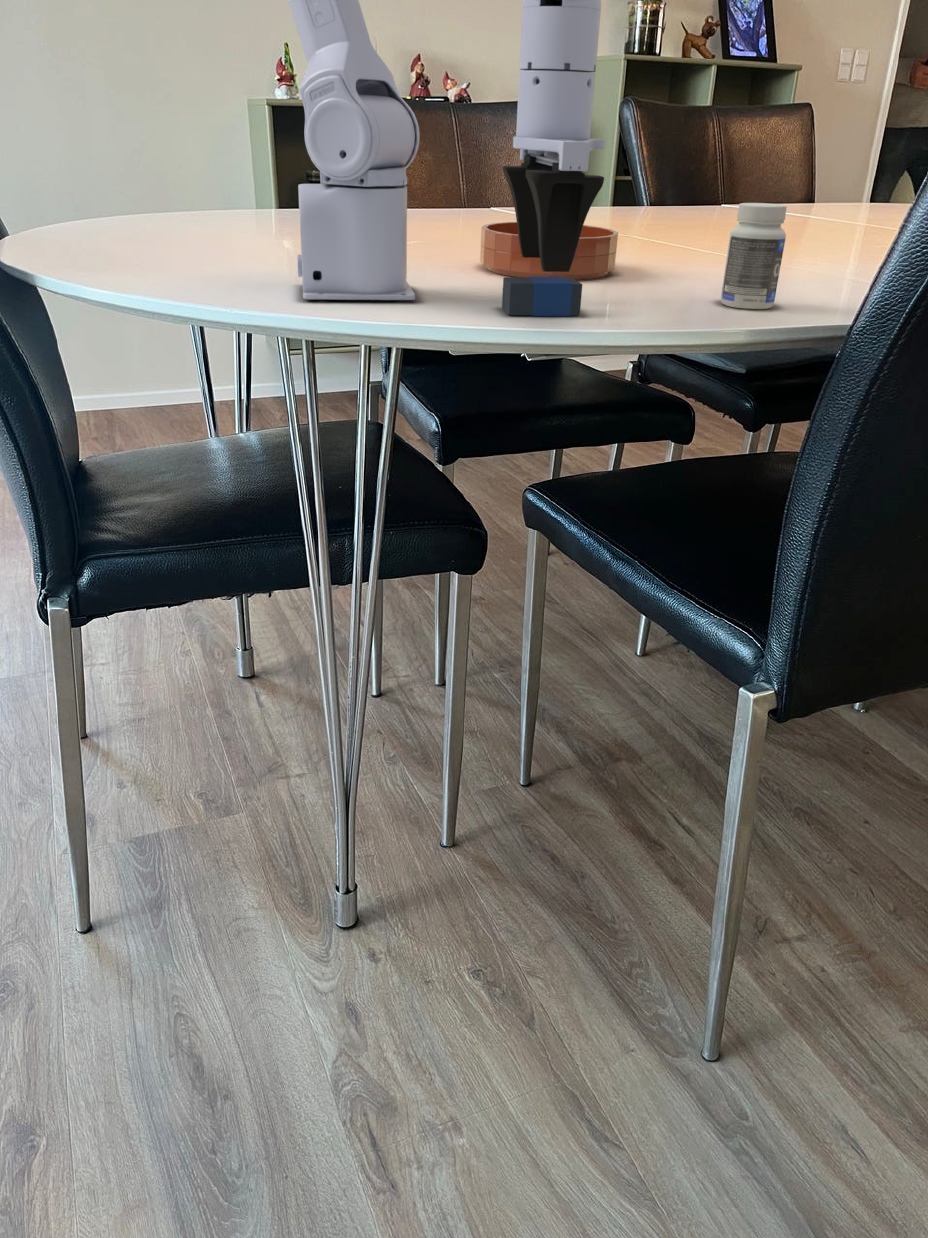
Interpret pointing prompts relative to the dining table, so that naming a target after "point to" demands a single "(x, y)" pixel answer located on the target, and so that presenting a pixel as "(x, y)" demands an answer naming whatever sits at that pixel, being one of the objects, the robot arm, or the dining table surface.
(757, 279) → the pill bottle
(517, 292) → the eraser
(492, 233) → the bowl
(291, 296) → the dining table surface
